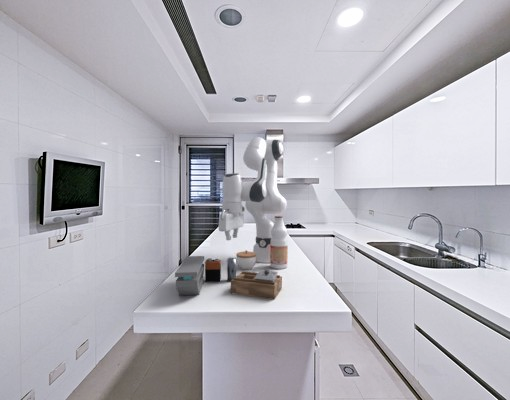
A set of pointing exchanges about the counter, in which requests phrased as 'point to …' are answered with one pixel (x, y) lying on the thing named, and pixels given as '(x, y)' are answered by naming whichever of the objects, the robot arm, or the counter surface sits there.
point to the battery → (212, 270)
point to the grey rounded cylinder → (231, 268)
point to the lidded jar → (246, 259)
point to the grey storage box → (190, 276)
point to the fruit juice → (278, 244)
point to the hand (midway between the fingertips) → (231, 238)
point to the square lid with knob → (267, 275)
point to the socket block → (255, 286)
